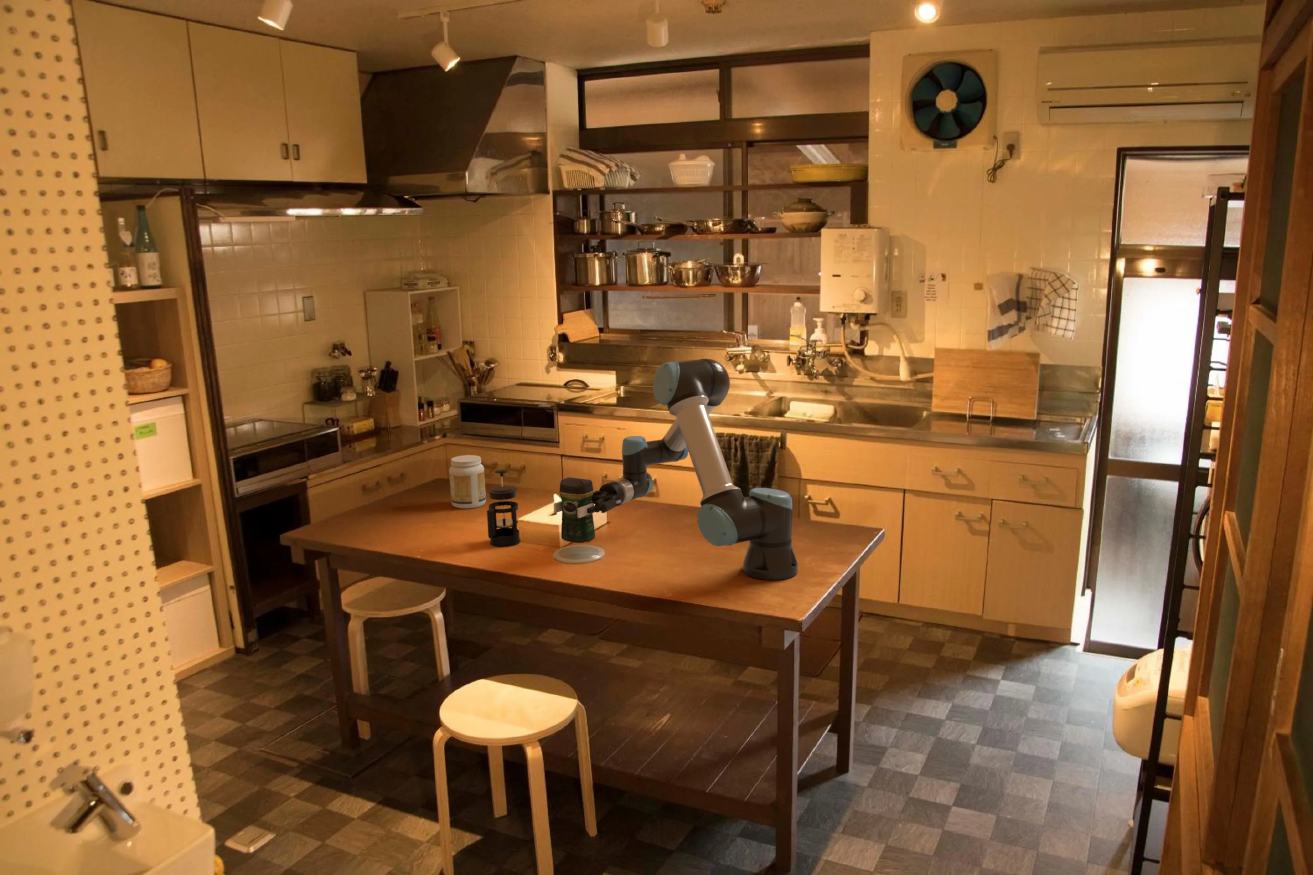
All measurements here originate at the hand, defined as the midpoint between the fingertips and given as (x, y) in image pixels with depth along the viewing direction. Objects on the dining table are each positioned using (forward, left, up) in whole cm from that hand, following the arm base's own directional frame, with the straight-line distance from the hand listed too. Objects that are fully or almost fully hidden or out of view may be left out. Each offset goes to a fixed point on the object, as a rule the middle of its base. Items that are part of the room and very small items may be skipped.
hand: (566, 510), depth 274 cm
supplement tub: (+71, +20, -15) cm, 75 cm away
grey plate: (+3, -4, -15) cm, 15 cm away
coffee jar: (+3, -4, -10) cm, 11 cm away
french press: (+23, +15, -15) cm, 31 cm away
